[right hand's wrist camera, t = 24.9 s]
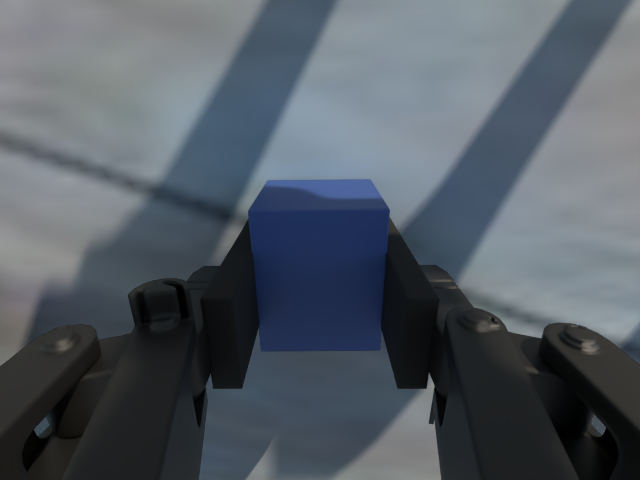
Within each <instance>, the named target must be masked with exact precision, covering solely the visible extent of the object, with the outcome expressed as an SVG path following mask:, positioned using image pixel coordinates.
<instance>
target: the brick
mask: <svg viewBox="0 0 640 480" xmlns="http://www.w3.org/2000/svg"><path fill="white" fill-rule="evenodd" d="M389 214H390V210H389V208H388V206H387V205H386V203H385V202H384V200H383V198H382V197H381V195H380V194H379V192H378V191H377V189H376V188H375V186H374V184H373V183H372V181H371V180H370V179H366V180H273V181H267V183H266V184H265V186H264V187H263V189H262V190H261V192H260V193H259V195H258V196H257V198H256V200H255V201H254V203H253V204H252V206H251V207H250V209H249V210H248V217H249V227H250V238H251V249H252V253H253V260H254V272H255V284H256V296H257V309H258V321H259V334H260V345H261V351H368V350H380V344H381V330H382V329H381V317H382V304H383V292H384V279H385V266H386V254H387V243H388V228H389Z"/></svg>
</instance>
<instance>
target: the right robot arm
mask: <svg viewBox="0 0 640 480" xmlns="http://www.w3.org/2000/svg"><path fill="white" fill-rule="evenodd" d="M128 298H129V302H130V306H131V310H132V314H133V319H134V323H135V327H134V329H133V331H132V333H130V334H126V335H122V336H117V337H112V338H107V339H101V340H98V336H97V333H96V330H95V329H94V328H93V327H91V326H89V325H83V324H79V325H67V326H63V327H59V328H56V329H53V330H52V331H50V332H47V333H45V334H43V335H41V336H40V337H38V338H36V339H35V340H33V341H32V342H30V343H29V344H28V345H27V346H25V347H24V348H23V349H22V350H20V351H19V352H18V353H17V354H15V355H14V356H13V357H12V358H10V359H9V360H8V361H6V362H5V363H4V364H3V365H1V366H0V480H199V473H200V464H201V455H202V447H203V438H204V429H205V420H206V412H207V403H208V400H207V394H206V388H205V386H206V383H207V381H208V378H209V376H210V374H211V377H212V384H213V389H242V386H243V383H244V379H245V375H246V372H247V368H248V364H249V361H250V357H251V353H252V350H253V346H254V342H255V339H256V335H257V331H258V328H259V321H258V309H257V296H256V284H255V272H254V260H253V253H252V249H251V238H250V227H249V220H248V221H247V223H246V225H245V226H244V228H243V230H242V231H241V233H240V234H239V236H238V238H237V239H236V241H235V243H234V244H233V246H232V248H231V249H230V251H229V252H228V254H227V256H226V257H225V259H224V261H223V262H222V264H221V266H204V267H202V268H200V269H199V270H197V271H196V272H194V273H193V274H192V275H191V276H190V278H189V279H188V280H187V282H186V281H184V280H181V279H176V278H165V279H159V280H153V281H150V282H147V283H144V284H142V285H140V286H138V287H137V288H135V289H133V290H132V291H131V292H130V293H129V294H128ZM381 329H382V333H383V336H384V340H385V344H386V347H387V351H388V355H389V358H390V362H391V366H392V369H393V373H394V377H395V380H396V384H397V388H398V389H426V388H427V381H428V375H429V373H430V375H431V378H432V380H433V383H434V385H435V388H434V394H433V400H432V406H431V412H430V419H429V424H433V423H434V420H435V428H436V437H437V446H438V454H439V463H440V472H441V480H640V364H639V363H637V362H636V361H635V360H633V359H632V358H631V357H630V356H628V355H627V354H626V353H625V352H623V351H622V350H621V349H620V348H618V347H617V346H616V345H614V344H613V343H612V342H611V341H609V340H608V339H606V338H605V337H603V336H602V335H600V334H598V333H597V332H594V331H592V330H589V329H588V328H586V327H583V326H580V325H576V324H571V323H569V324H568V323H553V324H549V325H548V326H546V327H545V328H544V331H543V335H542V338H536V337H531V336H526V335H520V334H515V333H512V332H508V331H507V329H506V326H505V325H504V324H503V322H502V321H501V320H500V319H499V318H498V317H496V316H495V315H493V314H492V313H489V312H487V311H484V310H482V309H478V308H474V307H473V306H472V305H471V303H470V302H469V301H468V299H467V298H466V297H465V295H464V294H463V293H462V291H461V290H460V289H458V286H457V285H456V283H455V282H453V279H452V278H451V277H450V275H449V274H448V273H447V272H446V271H445V270H443V269H441V268H440V267H438V266H436V265H418V263H417V261H416V260H415V258H414V256H413V255H412V253H411V251H410V250H409V248H408V247H407V245H406V243H405V242H404V240H403V238H402V237H401V235H400V233H399V232H398V230H397V229H396V227H395V225H394V224H393V222H392V220H391V219H390V217H389V228H388V243H387V254H386V266H385V279H384V292H383V304H382V317H381ZM594 414H595V415H596V417H597V418H598V419H599V420H600V421H601V422H602V423H603V424H604V425H605V426H606V430H605V432H604V434H603V435H601V434H600V433H599V432H598V431H597V430H596V429H595V428H594V427H593V426H592V425H591V421H592V419H593V416H594ZM45 416H46V418H47V420H48V423H49V426H48V428H47V429H46V430H45V431H44V432H43V433H42V434H40V435H39V436H37V435H36V433H35V431H34V428H35V427H36V426H37V425H38V424H39V423H40V422H41V421H42V420H43V419H44V418H45Z"/></svg>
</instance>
